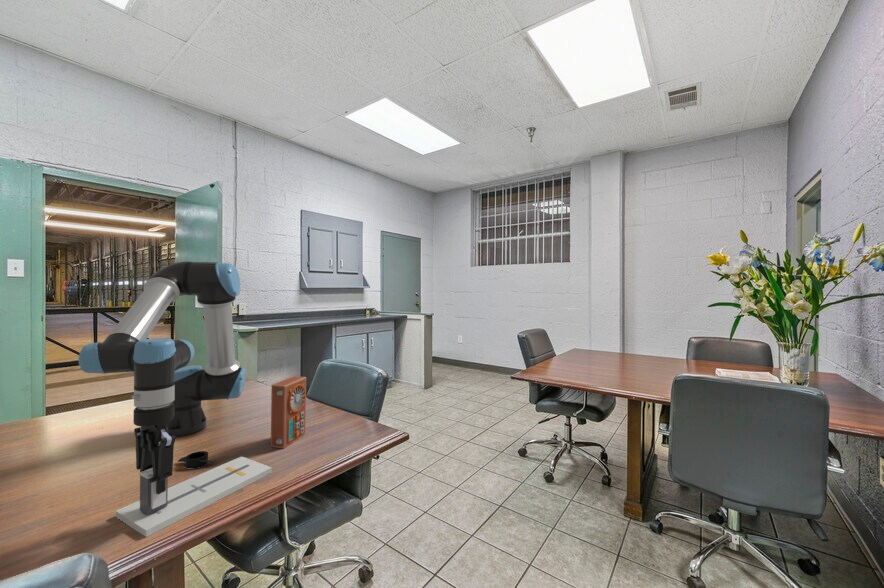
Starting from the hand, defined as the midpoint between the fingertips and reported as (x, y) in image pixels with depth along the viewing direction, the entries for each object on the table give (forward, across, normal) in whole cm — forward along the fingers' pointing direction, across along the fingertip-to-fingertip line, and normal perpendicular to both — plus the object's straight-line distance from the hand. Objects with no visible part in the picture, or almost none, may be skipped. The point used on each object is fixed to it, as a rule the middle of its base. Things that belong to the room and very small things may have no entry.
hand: (153, 502), depth 84 cm
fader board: (+3, 0, +11) cm, 11 cm away
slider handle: (+1, 0, 0) cm, 1 cm away
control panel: (+3, -7, +44) cm, 45 cm away
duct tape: (+4, -17, +19) cm, 25 cm away
